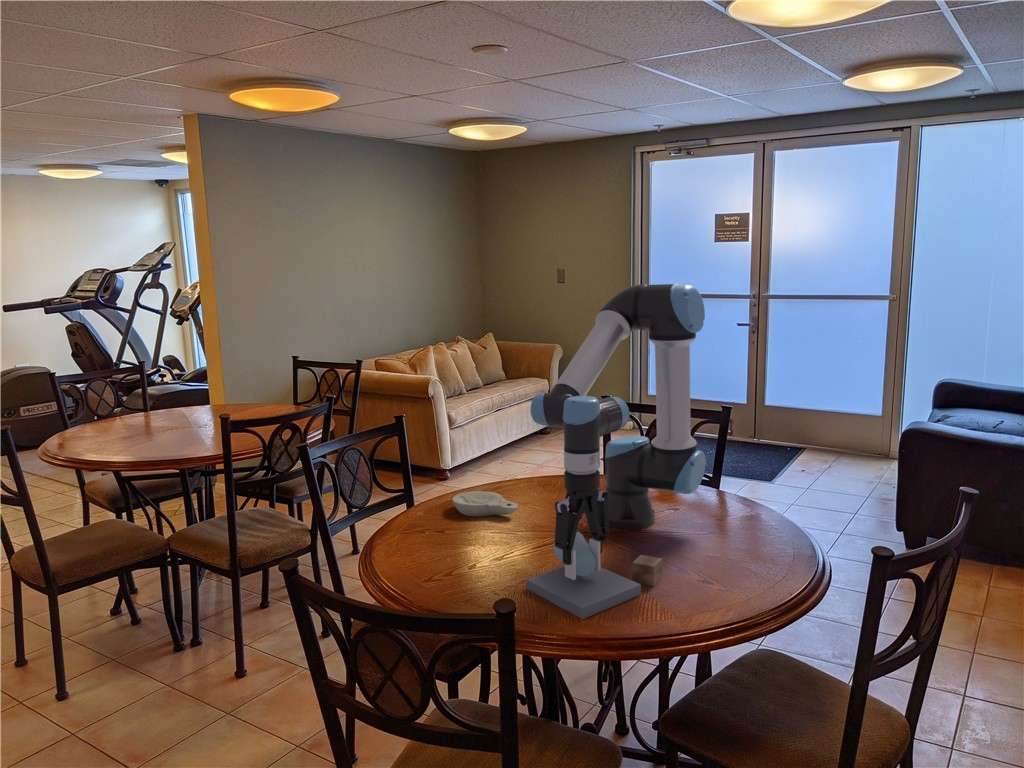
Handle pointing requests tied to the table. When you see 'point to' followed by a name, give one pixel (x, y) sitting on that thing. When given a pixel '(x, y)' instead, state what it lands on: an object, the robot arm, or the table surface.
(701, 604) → the table surface
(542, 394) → the robot arm
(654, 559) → the walnut block
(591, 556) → the cup
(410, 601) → the table surface
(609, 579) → the plinth
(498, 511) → the oil lamp
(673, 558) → the table surface
